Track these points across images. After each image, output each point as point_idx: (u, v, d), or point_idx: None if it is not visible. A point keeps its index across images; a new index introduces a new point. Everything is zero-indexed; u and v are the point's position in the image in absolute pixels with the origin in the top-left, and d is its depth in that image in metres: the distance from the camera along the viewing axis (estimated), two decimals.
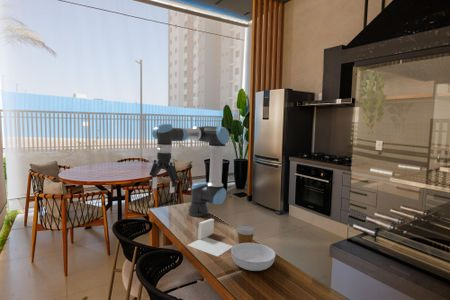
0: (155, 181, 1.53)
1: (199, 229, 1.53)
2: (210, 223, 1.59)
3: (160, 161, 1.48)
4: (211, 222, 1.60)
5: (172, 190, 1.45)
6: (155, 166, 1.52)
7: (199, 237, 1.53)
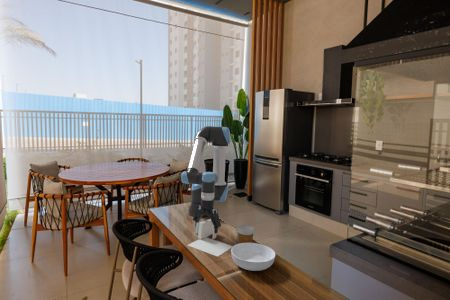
0: (198, 226, 1.61)
1: (199, 229, 1.53)
2: (210, 224, 1.59)
3: (203, 207, 1.57)
4: (211, 222, 1.60)
5: (214, 236, 1.55)
6: (198, 211, 1.61)
7: (199, 237, 1.53)
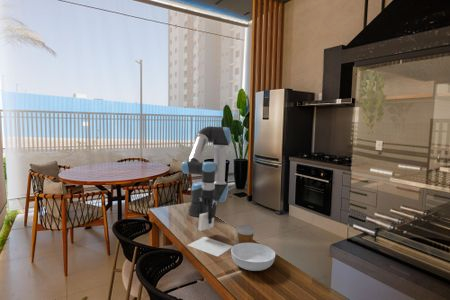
0: None
1: (199, 221, 1.53)
2: None
3: (203, 196, 1.57)
4: None
5: (209, 226, 1.57)
6: (201, 204, 1.59)
7: (199, 229, 1.53)
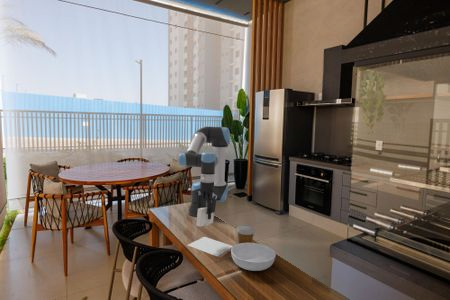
0: None
1: (198, 215, 1.41)
2: None
3: (202, 189, 1.45)
4: None
5: (208, 222, 1.45)
6: (200, 198, 1.48)
7: (198, 224, 1.41)
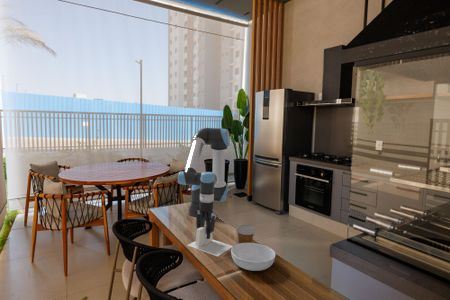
0: None
1: (197, 236, 1.42)
2: None
3: (201, 208, 1.46)
4: None
5: (207, 242, 1.46)
6: (199, 217, 1.49)
7: (197, 244, 1.42)
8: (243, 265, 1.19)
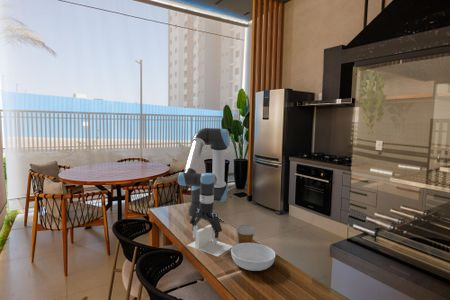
0: (196, 229, 1.51)
1: (196, 238, 1.42)
2: (208, 230, 1.48)
3: (202, 211, 1.46)
4: (209, 229, 1.48)
5: (215, 241, 1.43)
6: (196, 215, 1.50)
7: (197, 246, 1.42)
8: (243, 265, 1.19)
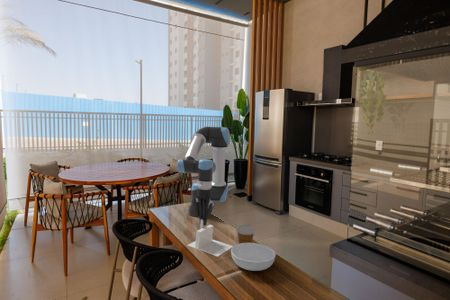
0: None
1: (197, 238, 1.41)
2: (209, 231, 1.48)
3: (199, 195, 1.47)
4: (210, 229, 1.48)
5: None
6: (198, 205, 1.49)
7: (197, 246, 1.42)
8: (243, 265, 1.19)
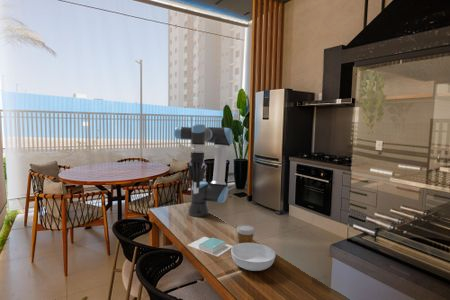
0: None
1: (206, 248, 1.38)
2: None
3: (192, 159, 1.52)
4: None
5: (196, 191, 1.53)
6: (191, 168, 1.54)
7: (199, 247, 1.41)
8: (243, 265, 1.19)
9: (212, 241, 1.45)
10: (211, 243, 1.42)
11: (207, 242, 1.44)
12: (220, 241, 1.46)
